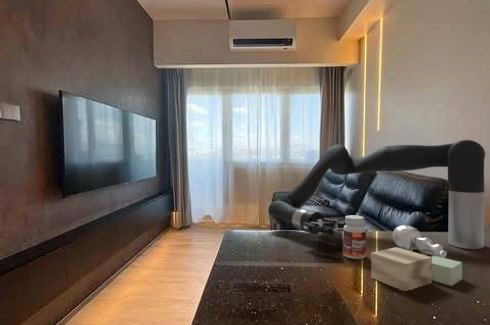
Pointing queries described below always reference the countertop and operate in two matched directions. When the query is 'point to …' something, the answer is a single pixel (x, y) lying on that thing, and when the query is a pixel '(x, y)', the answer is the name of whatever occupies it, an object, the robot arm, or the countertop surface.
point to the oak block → (401, 268)
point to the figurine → (416, 241)
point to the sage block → (446, 270)
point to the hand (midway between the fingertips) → (343, 230)
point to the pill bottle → (354, 237)
